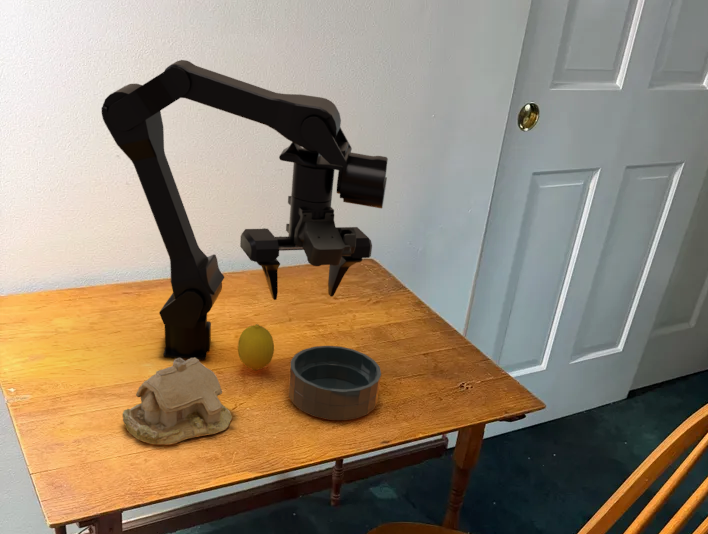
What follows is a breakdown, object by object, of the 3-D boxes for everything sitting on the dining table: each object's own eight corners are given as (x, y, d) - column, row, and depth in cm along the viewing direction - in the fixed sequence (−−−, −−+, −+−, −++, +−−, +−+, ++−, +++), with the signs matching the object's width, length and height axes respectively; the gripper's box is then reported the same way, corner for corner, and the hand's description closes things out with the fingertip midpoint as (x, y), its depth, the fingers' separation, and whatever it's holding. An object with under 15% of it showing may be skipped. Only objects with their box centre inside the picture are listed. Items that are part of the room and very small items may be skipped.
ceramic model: (194, 390, 117) (194, 330, 112) (244, 423, 112) (247, 362, 107) (111, 422, 108) (106, 358, 102) (162, 460, 103) (159, 395, 97)
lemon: (265, 382, 122) (268, 336, 118) (231, 374, 123) (233, 328, 118) (277, 366, 127) (280, 321, 122) (244, 358, 127) (246, 313, 123)
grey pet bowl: (288, 420, 115) (291, 388, 112) (288, 373, 126) (290, 342, 122) (380, 425, 117) (385, 394, 114) (372, 378, 128) (376, 349, 125)
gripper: (266, 217, 102) (260, 325, 111) (394, 215, 110) (379, 316, 119) (241, 188, 109) (237, 291, 118) (362, 188, 118) (350, 285, 127)
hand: (302, 297), depth 121 cm, fingers open, 9 cm apart
